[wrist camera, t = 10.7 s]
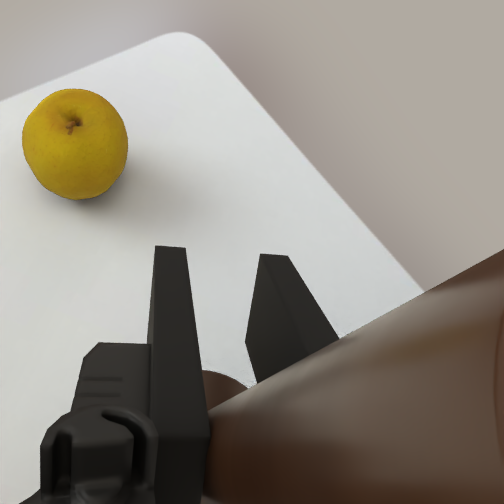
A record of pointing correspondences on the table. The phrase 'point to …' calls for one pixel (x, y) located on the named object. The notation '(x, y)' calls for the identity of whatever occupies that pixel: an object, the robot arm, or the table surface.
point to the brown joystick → (375, 410)
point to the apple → (75, 143)
